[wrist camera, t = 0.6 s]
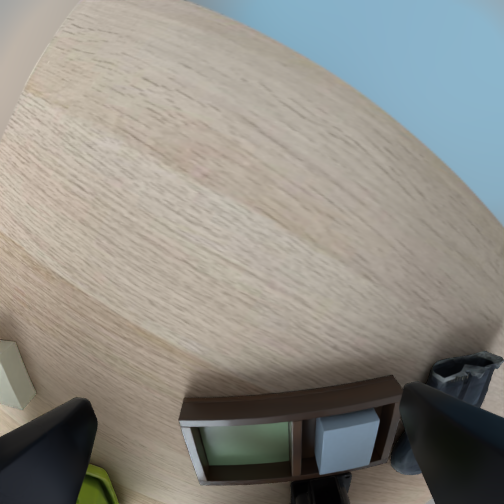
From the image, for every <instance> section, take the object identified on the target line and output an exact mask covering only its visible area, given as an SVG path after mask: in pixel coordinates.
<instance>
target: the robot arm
mask: <svg viewBox="0 0 504 504" xmlns="http://www.w3.org/2000/svg"><path fill="white" fill-rule="evenodd" d="M399 412H400V415H401V418H402V421H403V424H404V427H405V430H406V433H407V436H408V439H409V443H410V446H411V449H412V452H413V454H414V456H415V459H416V461H417V463H418V465H419V468H420V470H421V472H422V474H423V477H424V479H425V481H426V483H427V486H428V488H429V490H430V492H431V495H432V497H433V499H434V502H435V504H504V418H503V417H500V416H498V415H495V414H493V413H491V412H488V411H486V410H483V409H481V408H479V407H476V406H474V405H472V404H469V403H467V402H465V401H462V400H460V399H458V398H455V397H453V396H451V395H449V394H446V393H444V392H442V391H440V390H437V389H435V388H433V387H431V386H428V385H426V384H424V383H422V382H419V381H415V382H411V383H407V384H405V386H404V388H403V392H402V396H401V400H400V404H399ZM97 427H98V421H97V418H96V415H95V413H94V410H93V408H92V405H91V403H90V401H89V400H88V399H86V398H79V397H75V398H73V399H71V400H70V401H68V402H66V403H64V404H62V405H60V406H58V407H57V408H55V409H53V410H51V411H49V412H47V413H45V414H44V415H42V416H40V417H38V418H36V419H34V420H32V421H30V422H28V423H26V424H24V425H23V426H21V427H19V428H17V429H15V430H13V431H11V432H9V433H7V434H5V435H3V436H1V437H0V504H76V502H77V499H78V496H79V492H80V489H81V486H82V483H83V480H84V478H85V475H86V472H87V468H88V465H89V461H90V457H91V453H92V448H93V444H94V440H95V435H96V431H97ZM351 478H352V474H351V472H345V473H340V474H335V475H329V476H324V477H318V478H311V479H304V480H296V481H292V482H291V504H350V501H349V497H348V490H349V486H350V482H351Z"/></svg>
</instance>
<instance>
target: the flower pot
mask: <svg viewBox="0 0 504 504" xmlns="http://www.w3.org/2000/svg"><path fill="white" fill-rule="evenodd" d="M76 504H119V502H118V500H117V497H116V494H115V492H114V489H113V487H112V484H111V481H110V479H109V476H108V474H107V472H106V471H105V470H104V469H103V468H101V467H99V466H94V465H91V464H89V465H88V468H87V472H86V475H85V478H84V480H83V483H82V486H81V489H80V492H79V496H78V499H77V502H76Z"/></svg>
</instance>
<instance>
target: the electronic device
mask: <svg viewBox="0 0 504 504" xmlns="http://www.w3.org/2000/svg"><path fill="white" fill-rule="evenodd" d="M503 362H504V359H503V358H502V357H500V356H497V355H495V354H492V353H489V352H487V351H483V352H479V353H476V354H473V355H467V356H462V357H454V358H448V359H443V360H440V361H438V362H436V363H435V364H434V366H433V368H432V370H431V372H430V375H429V378H428V381H427V384H426V385H428V386H431V387H433V388H435V389H437V390H440V391H442V392H444V393H446V394H449V395H451V396H453V397H455V398H458V399H460V400H462V401H465V402H467V403H469V404H472V405H474V406H476V407H479V408H480V407H481V405H482V403H483V401H484V398H485V395H486V393H487V391H488V386H489V383H490V381H491V377H492V374H493V371H494V369H498V368H499V367H500V365H501V364H502V363H503ZM391 466H392V467H393V468H394V469H395V470H396V471H397V472H399V473H401V474H405V475H416V474H420V473H422V472H421V470H420V468H419V465H418V463H417V461H416V459H415V456H414V454H413V452H412V449H411V446H410V443H409V439H408V436H407V433H406V431H405V433H403V434H402V436H401V438H400V439H399V440H398V442H397V443H396V446H395V447H394V448H393V450H392V453H391Z"/></svg>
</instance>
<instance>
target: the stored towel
mask: <svg viewBox="0 0 504 504" xmlns="http://www.w3.org/2000/svg"><path fill="white" fill-rule="evenodd" d="M379 422H380V419H379V418H378V416H377V414H376V412H375V410H374V408H369V409H365V410H360V411H355V412H350V413H344V414H339V415H333V416H327V417H320V418H316V431H315V448H314V453H315V457H316V461H317V466H318V470H319V474H320V475H322V474H328V473H333V472H339V471H344V470H348V469H353V468H358V467H362V466H366V465H369V463H370V459H371V455H372V452H373V448H374V444H375V439H376V435H377V431H378V426H379Z"/></svg>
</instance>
